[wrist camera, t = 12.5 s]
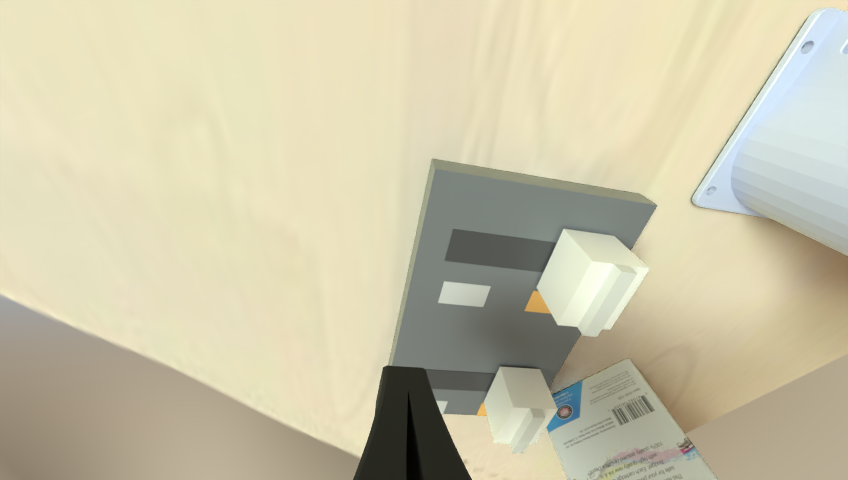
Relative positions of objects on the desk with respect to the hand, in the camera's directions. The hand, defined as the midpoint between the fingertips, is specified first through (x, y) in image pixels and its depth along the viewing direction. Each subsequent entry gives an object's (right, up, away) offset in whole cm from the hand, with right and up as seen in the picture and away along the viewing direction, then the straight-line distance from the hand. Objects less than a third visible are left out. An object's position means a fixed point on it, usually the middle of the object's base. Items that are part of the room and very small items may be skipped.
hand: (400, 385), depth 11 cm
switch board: (+5, 0, +11) cm, 13 cm away
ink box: (+16, -9, +18) cm, 26 cm away
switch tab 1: (+7, -6, +13) cm, 16 cm away
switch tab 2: (+9, +4, +8) cm, 13 cm away
